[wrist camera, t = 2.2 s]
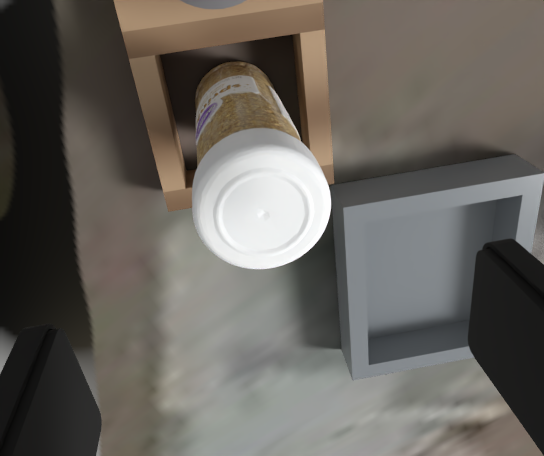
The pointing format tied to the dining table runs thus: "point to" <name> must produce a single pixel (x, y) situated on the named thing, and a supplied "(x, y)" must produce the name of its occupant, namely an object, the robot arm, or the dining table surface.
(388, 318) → the tray
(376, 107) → the dining table surface
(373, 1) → the dining table surface
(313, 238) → the sprinkles bottle
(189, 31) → the holder
